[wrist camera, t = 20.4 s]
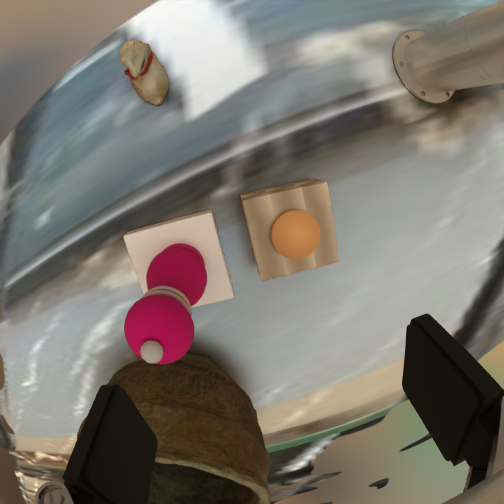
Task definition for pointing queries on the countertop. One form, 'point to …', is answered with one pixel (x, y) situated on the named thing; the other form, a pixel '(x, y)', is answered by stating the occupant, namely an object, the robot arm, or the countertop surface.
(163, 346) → the pepper mill
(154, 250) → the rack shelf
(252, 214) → the stand
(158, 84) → the chocolate bunny
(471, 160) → the countertop surface
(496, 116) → the countertop surface
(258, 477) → the clay pot
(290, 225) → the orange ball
